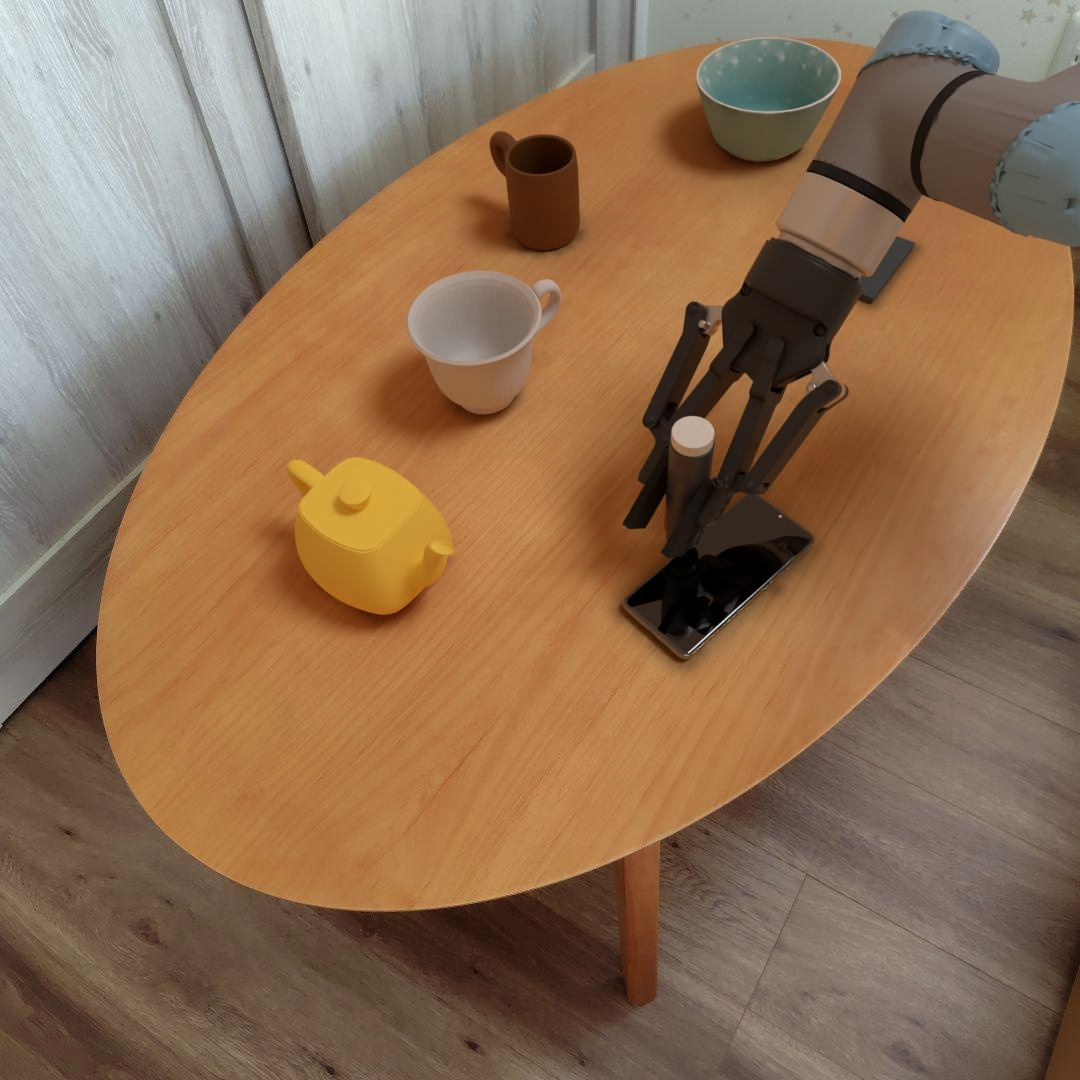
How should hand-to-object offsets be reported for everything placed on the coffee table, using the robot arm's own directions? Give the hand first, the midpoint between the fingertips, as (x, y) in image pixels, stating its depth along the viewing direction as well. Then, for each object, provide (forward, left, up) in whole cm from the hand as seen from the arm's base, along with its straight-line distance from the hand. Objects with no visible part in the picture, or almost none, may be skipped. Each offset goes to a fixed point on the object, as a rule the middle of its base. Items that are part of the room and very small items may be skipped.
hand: (653, 539), depth 73 cm
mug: (+36, -33, -6) cm, 49 cm away
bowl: (+22, -59, -6) cm, 63 cm away
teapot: (+19, +11, -6) cm, 23 cm away
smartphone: (-4, -3, -6) cm, 8 cm away
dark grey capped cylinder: (-1, -4, -4) cm, 5 cm away
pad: (+4, -45, -6) cm, 45 cm away
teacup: (+24, -11, -6) cm, 27 cm away
